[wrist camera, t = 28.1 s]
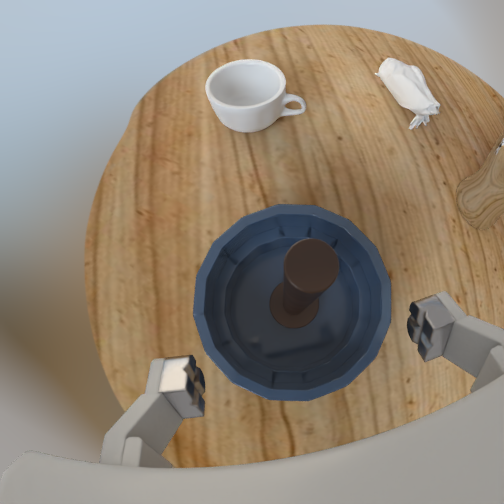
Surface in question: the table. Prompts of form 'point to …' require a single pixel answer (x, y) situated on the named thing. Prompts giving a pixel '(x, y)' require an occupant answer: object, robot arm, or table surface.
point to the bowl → (263, 323)
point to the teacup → (250, 95)
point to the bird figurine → (409, 89)
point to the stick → (303, 282)
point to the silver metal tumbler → (484, 190)
